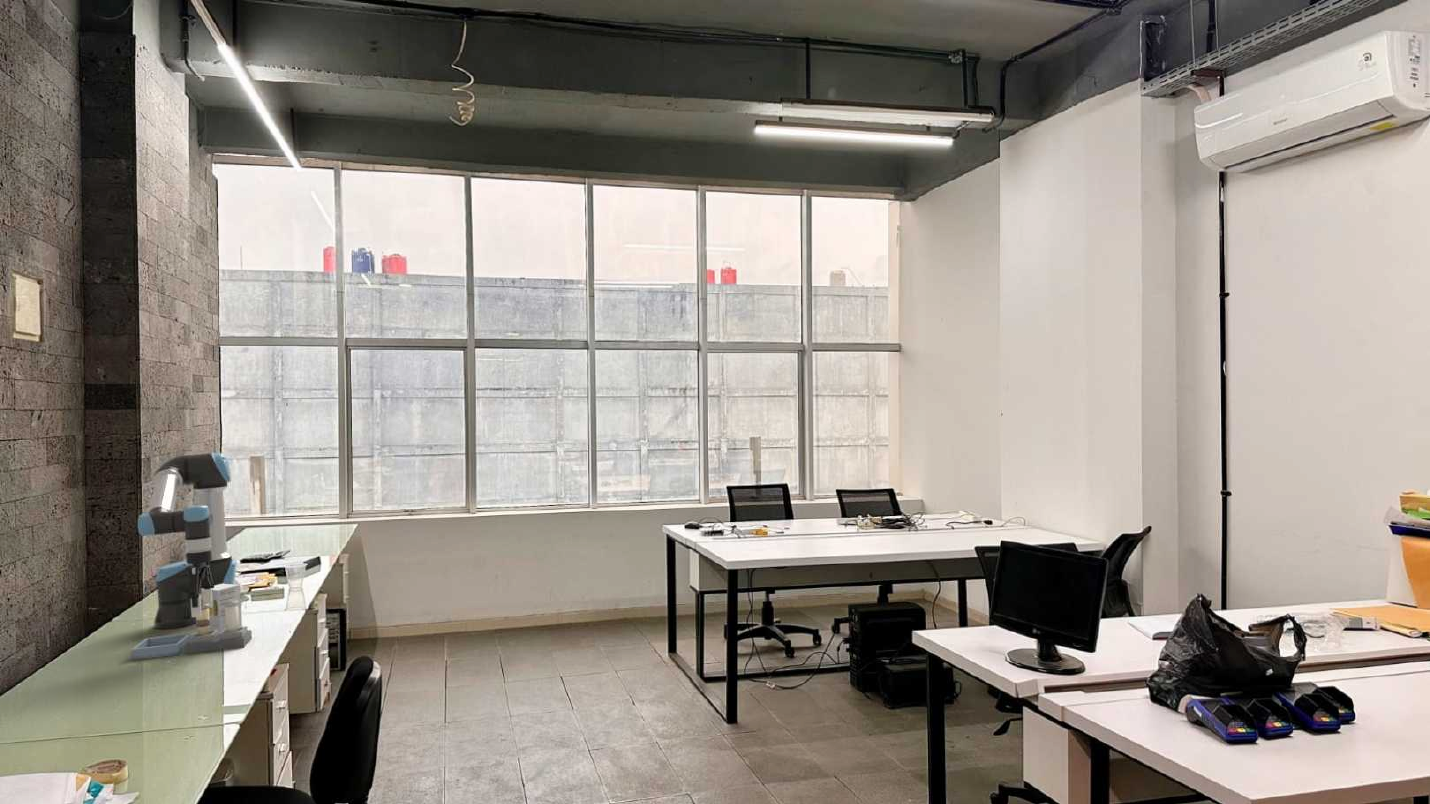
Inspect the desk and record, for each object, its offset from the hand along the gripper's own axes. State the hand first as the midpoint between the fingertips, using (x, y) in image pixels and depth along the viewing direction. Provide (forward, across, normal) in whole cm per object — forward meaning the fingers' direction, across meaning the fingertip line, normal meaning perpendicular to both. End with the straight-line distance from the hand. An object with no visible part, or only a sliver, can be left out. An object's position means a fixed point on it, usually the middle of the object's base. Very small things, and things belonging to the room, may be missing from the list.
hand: (202, 612), depth 300 cm
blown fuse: (+9, 0, 0) cm, 9 cm away
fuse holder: (+12, 0, +4) cm, 13 cm away
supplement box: (+12, -22, 0) cm, 25 cm away
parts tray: (+12, -2, -14) cm, 19 cm away
